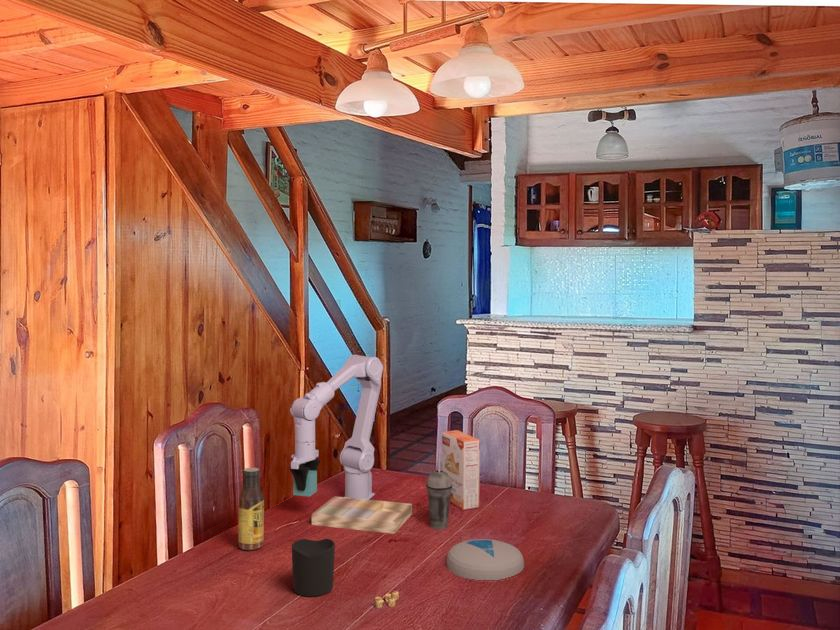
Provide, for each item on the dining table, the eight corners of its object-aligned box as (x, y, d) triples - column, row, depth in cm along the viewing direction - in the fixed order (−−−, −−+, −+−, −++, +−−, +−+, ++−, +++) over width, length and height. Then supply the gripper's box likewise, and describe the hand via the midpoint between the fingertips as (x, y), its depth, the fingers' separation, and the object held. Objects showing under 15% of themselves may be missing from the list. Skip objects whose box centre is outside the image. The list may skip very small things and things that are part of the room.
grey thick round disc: (460, 586, 165) (461, 564, 165) (437, 555, 183) (437, 535, 182) (536, 577, 170) (537, 556, 169) (506, 548, 188) (506, 529, 187)
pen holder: (314, 576, 169) (314, 533, 168) (343, 587, 163) (343, 543, 162) (282, 589, 162) (282, 545, 161) (311, 602, 156) (311, 556, 155)
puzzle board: (311, 524, 203) (311, 514, 202) (334, 506, 218) (334, 496, 218) (394, 533, 196) (394, 522, 196) (411, 514, 212) (411, 503, 212)
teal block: (300, 489, 213) (300, 469, 213) (316, 491, 212) (316, 470, 211) (293, 494, 208) (293, 474, 208) (309, 496, 207) (309, 475, 207)
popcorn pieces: (398, 599, 159) (398, 590, 159) (398, 610, 154) (398, 601, 153) (375, 599, 159) (375, 590, 158) (374, 610, 153) (374, 601, 153)
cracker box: (440, 497, 228) (441, 430, 226) (457, 495, 230) (458, 429, 229) (462, 511, 215) (462, 440, 214) (479, 508, 218) (480, 438, 216)
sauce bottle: (257, 552, 182) (257, 474, 181) (234, 550, 184) (233, 472, 182) (268, 543, 189) (267, 467, 188) (245, 541, 190) (244, 465, 189)
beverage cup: (452, 522, 205) (453, 452, 204) (451, 532, 198) (452, 458, 197) (426, 521, 206) (427, 451, 205) (424, 530, 199) (425, 458, 197)
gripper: (302, 434, 217) (303, 479, 218) (280, 445, 203) (281, 493, 204) (325, 435, 215) (325, 481, 216) (304, 447, 201) (304, 495, 202)
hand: (305, 487), depth 210 cm, fingers closed on teal block, 5 cm apart
